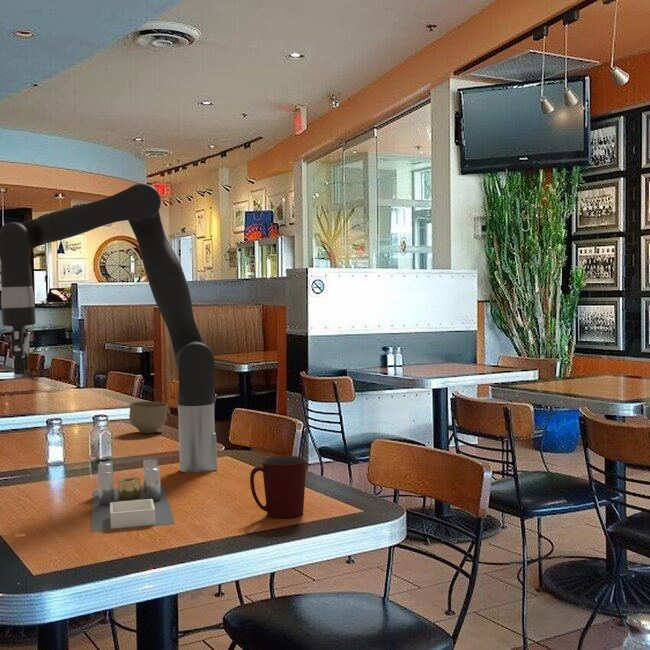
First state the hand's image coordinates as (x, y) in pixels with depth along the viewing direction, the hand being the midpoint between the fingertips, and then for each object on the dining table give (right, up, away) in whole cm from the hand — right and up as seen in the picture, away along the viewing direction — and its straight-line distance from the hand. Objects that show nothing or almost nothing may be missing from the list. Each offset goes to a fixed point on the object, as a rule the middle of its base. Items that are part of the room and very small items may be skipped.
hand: (21, 372), depth 196 cm
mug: (+64, -28, -30) cm, 76 cm away
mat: (+32, -28, -23) cm, 48 cm away
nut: (+30, -27, -15) cm, 43 cm away
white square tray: (+35, -28, -34) cm, 56 cm away
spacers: (+30, -27, -15) cm, 43 cm away
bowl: (+15, -24, +72) cm, 78 cm away
